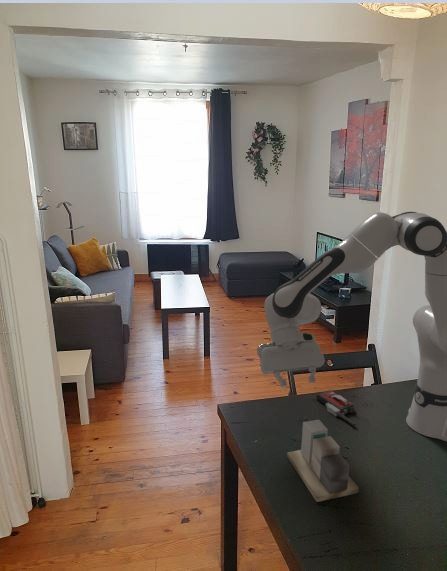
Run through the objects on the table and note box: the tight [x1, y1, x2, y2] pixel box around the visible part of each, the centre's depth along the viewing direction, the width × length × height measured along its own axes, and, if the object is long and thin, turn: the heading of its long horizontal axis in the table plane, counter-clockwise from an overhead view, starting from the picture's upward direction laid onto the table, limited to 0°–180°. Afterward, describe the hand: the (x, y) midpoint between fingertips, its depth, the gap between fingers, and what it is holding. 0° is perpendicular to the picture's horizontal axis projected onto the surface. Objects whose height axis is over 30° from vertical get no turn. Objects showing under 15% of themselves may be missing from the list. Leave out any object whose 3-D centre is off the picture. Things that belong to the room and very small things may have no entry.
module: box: [300, 419, 329, 464], centre depth 118 cm, size 5×5×10 cm
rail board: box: [286, 435, 360, 503], centre depth 114 cm, size 12×18×11 cm, turn 16°
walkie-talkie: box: [315, 389, 357, 427], centre depth 146 cm, size 9×4×20 cm
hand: (298, 384), depth 126 cm, fingers open, 8 cm apart
